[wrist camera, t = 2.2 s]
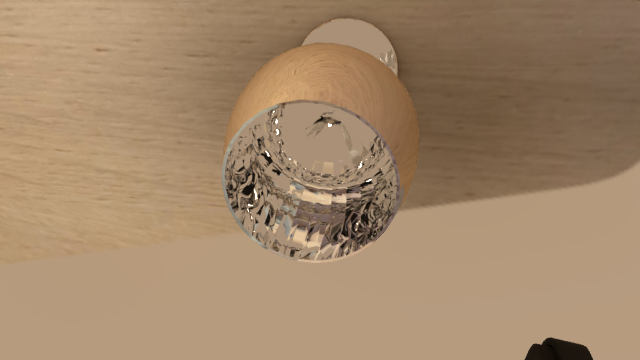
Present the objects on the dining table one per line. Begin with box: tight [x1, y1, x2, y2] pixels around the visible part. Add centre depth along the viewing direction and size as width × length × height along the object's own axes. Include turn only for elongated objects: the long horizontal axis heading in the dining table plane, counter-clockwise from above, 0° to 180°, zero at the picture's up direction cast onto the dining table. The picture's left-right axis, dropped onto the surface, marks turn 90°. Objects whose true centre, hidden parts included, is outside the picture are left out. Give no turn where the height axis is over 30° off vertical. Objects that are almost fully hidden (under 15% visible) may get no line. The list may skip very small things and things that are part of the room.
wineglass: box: [222, 18, 420, 263], centre depth 21 cm, size 6×6×12 cm
